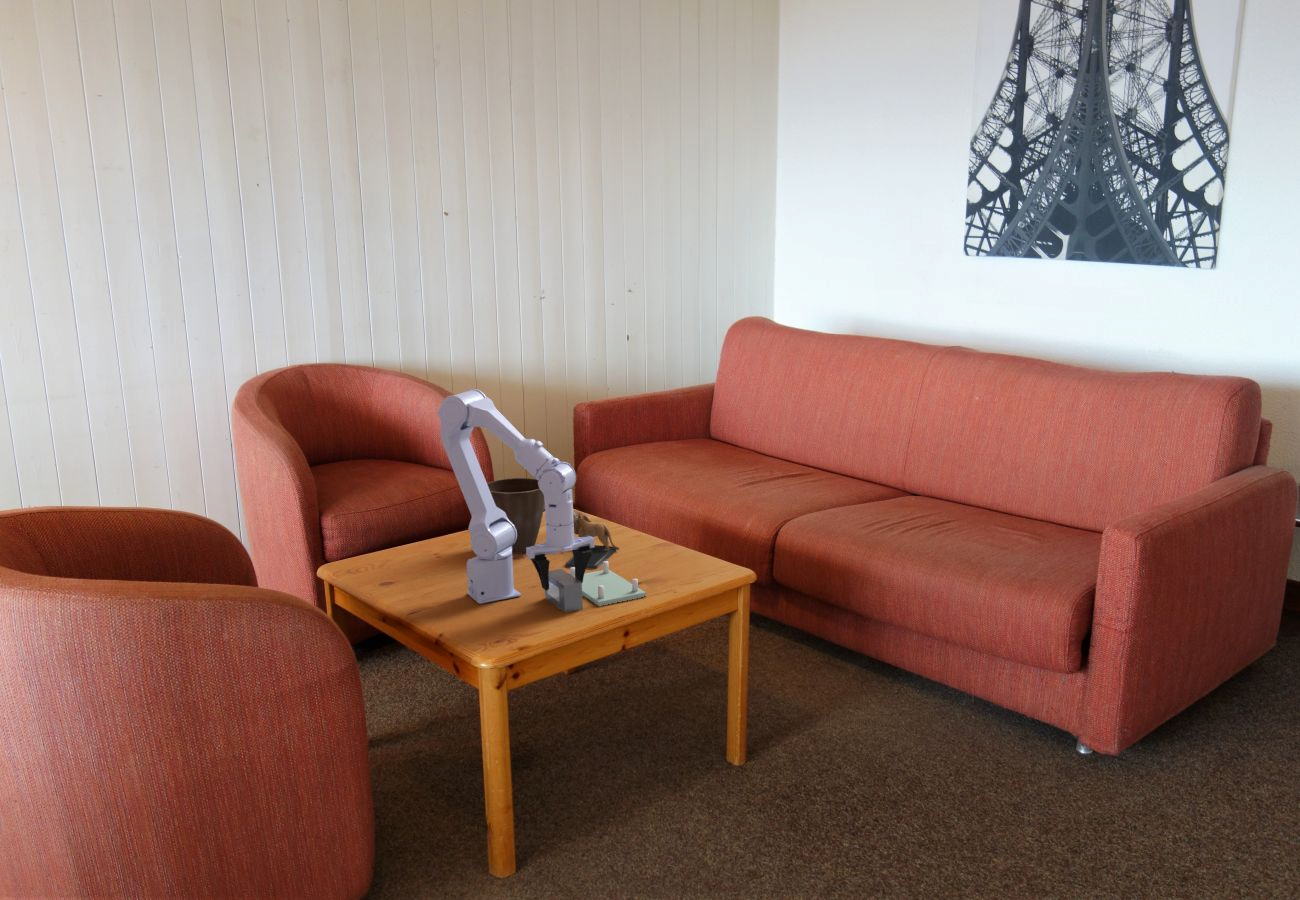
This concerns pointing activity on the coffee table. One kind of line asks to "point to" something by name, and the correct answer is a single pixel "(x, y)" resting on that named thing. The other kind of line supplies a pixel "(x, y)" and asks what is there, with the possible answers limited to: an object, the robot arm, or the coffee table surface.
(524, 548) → the plant pot
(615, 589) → the pin tray
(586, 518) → the lion figurine
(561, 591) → the block
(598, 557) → the phone
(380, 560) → the coffee table surface
